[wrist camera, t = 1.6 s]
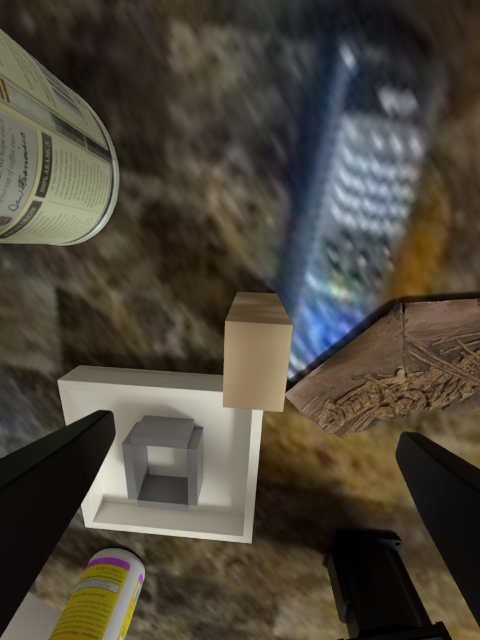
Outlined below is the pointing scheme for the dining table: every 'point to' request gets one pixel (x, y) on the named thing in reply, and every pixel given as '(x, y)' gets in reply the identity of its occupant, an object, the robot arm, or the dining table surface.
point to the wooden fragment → (398, 369)
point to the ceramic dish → (168, 453)
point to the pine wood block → (256, 352)
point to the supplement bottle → (103, 598)
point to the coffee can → (50, 157)
